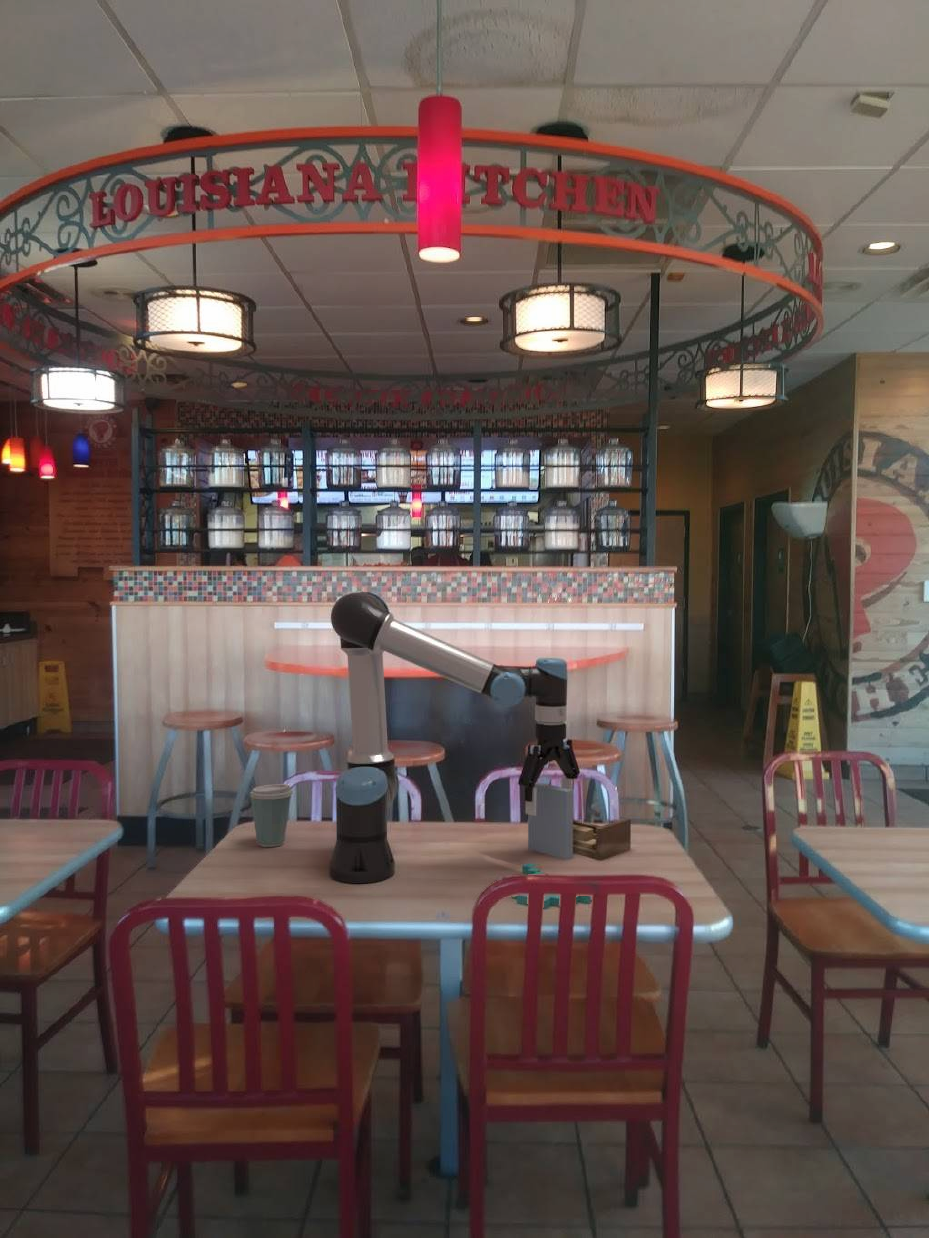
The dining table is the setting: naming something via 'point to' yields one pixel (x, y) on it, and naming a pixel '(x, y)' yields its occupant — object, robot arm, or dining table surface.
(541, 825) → the grey rectangular panel
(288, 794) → the disposable coffee cup
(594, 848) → the offcut
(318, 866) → the dining table surface
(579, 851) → the rack
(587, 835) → the offcut
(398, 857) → the dining table surface
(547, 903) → the alien figure
